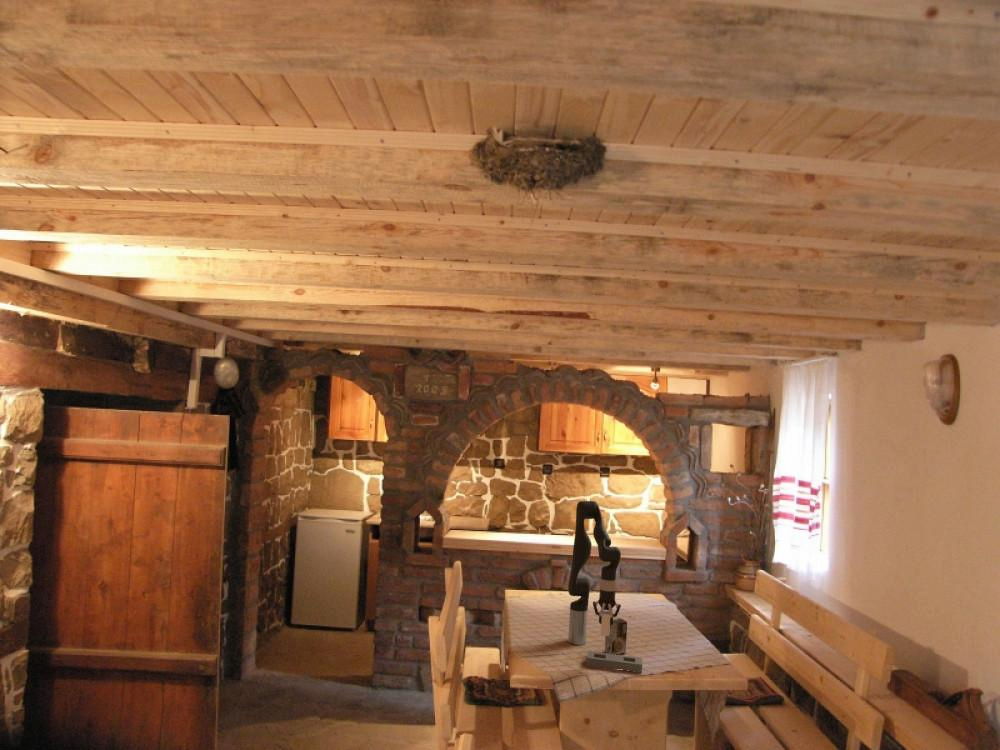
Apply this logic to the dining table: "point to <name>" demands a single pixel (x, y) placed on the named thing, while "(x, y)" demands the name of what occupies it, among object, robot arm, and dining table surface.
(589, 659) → the jack board
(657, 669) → the dining table surface
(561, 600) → the dining table surface
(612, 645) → the coffee box
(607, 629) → the plug
